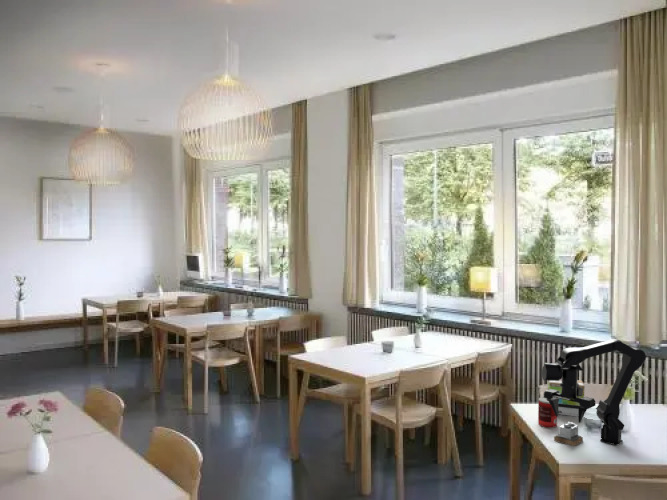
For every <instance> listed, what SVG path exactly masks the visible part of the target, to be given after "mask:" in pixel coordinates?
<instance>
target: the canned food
mask: <svg viewBox="0 0 667 500" xmlns="http://www.w3.org/2000/svg"><path fill="white" fill-rule="evenodd" d="M537 409H538V411H537V412H538V413H537V414H538V419H537V423H538V425H539V426H541V427H544V428H551V429H552V428H556V427H557V425H558V417H556V415H555V413H554V411H553V408H552V406H551V405H550V403H549V401H547V398H544V396H541V397H539V398H538V408H537Z"/></svg>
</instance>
